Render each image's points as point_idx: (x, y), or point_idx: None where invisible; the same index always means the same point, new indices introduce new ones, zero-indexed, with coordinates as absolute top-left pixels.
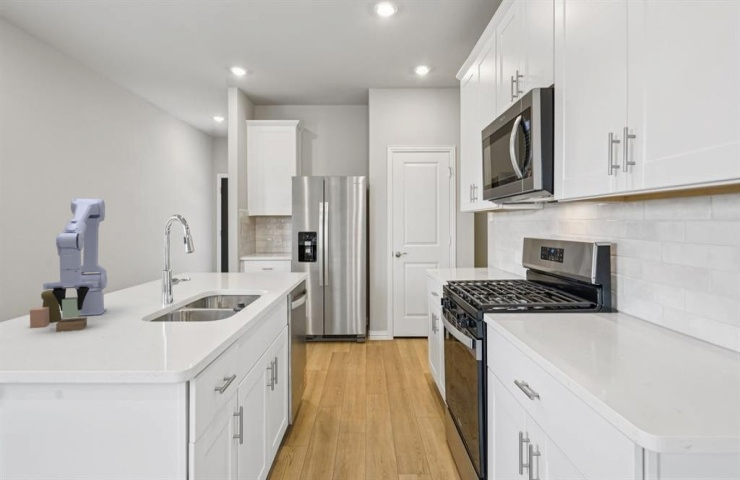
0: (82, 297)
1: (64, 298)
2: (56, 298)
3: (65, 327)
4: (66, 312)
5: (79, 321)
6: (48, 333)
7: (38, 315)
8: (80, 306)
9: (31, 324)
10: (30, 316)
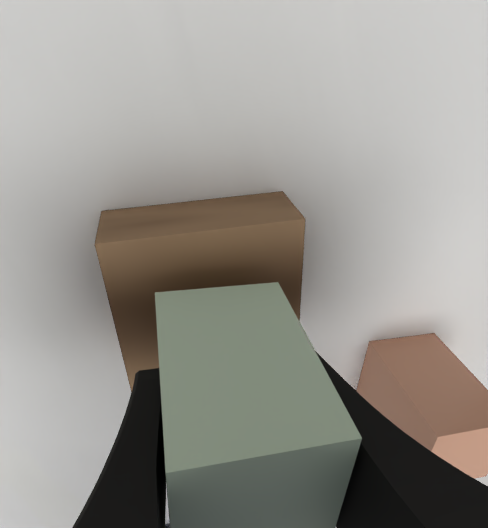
0: (79, 522)
1: (343, 512)
2: (437, 456)
3: (229, 211)
4: (258, 319)
5: (131, 262)
6: (327, 162)
7: (443, 394)
8: (130, 401)
9: (442, 347)
10: (480, 385)
